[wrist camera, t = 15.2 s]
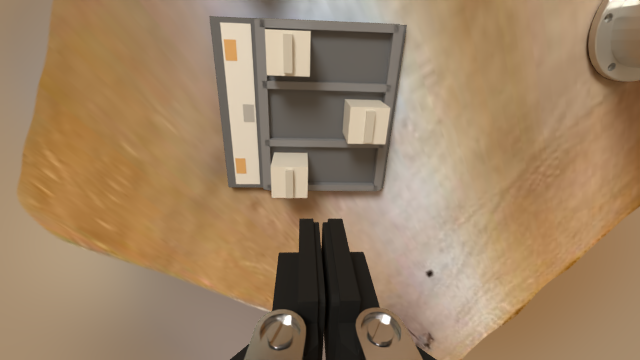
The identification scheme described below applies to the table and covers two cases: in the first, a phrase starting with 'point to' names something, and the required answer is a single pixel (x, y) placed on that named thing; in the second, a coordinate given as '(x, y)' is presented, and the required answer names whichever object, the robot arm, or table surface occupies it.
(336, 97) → the switch bank
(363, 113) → the cream block with ridge
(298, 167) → the cream block
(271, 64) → the cream block with bar
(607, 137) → the table surface
